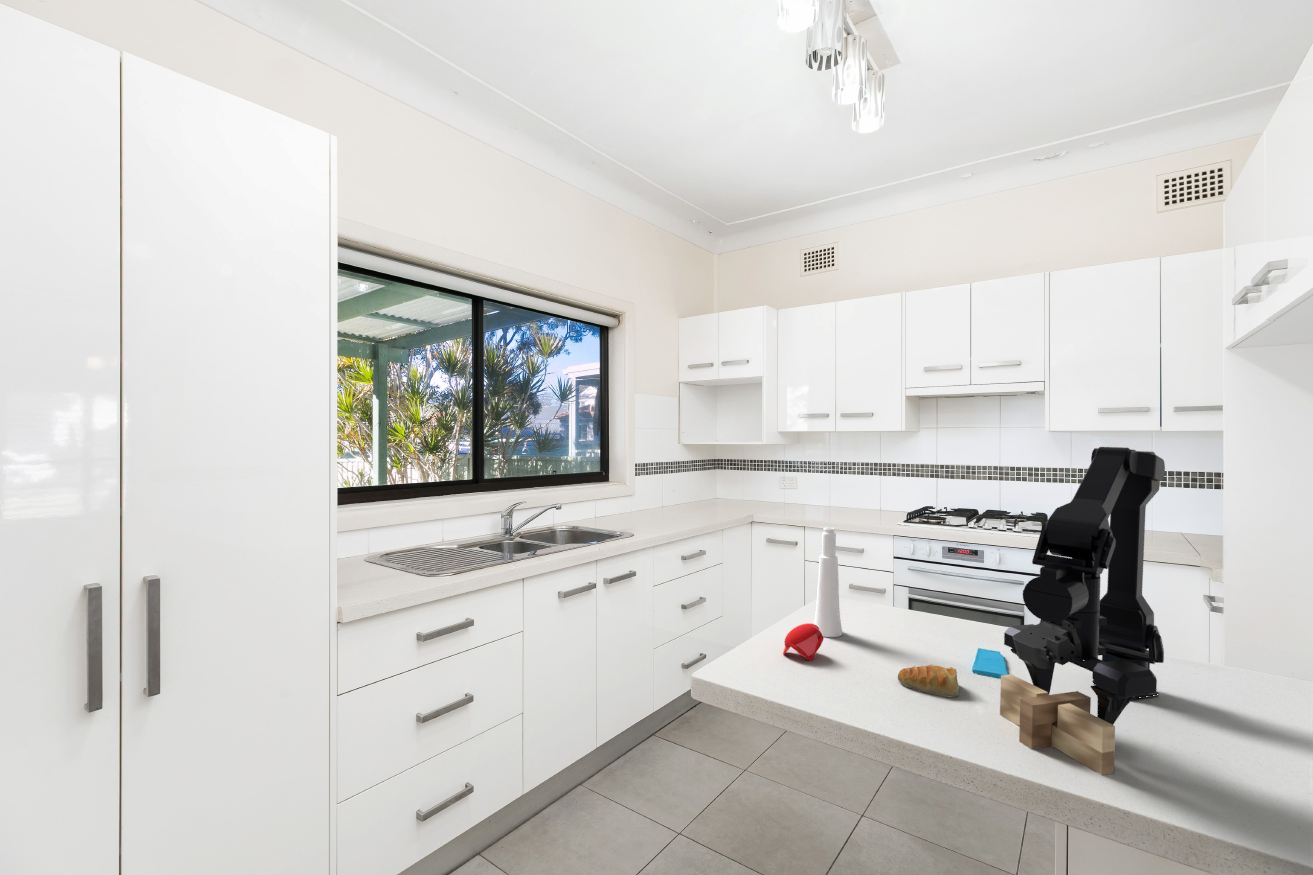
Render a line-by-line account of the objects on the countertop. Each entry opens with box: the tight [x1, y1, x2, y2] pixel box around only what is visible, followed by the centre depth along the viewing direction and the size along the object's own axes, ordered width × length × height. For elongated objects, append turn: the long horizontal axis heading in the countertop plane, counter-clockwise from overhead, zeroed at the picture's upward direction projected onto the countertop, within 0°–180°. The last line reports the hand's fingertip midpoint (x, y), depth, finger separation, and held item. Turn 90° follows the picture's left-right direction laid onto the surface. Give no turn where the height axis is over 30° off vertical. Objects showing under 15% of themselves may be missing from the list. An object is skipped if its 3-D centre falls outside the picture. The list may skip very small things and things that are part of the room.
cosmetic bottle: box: [813, 526, 843, 638], centre depth 127 cm, size 6×6×22 cm
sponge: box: [971, 647, 1009, 679], centre depth 111 cm, size 2×12×6 cm
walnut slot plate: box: [1018, 690, 1092, 750], centre depth 84 cm, size 10×2×6 cm, turn 104°
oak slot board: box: [999, 674, 1116, 776], centre depth 84 cm, size 16×2×6 cm, turn 14°
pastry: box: [897, 664, 960, 698], centre depth 102 cm, size 9×7×4 cm
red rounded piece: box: [782, 622, 825, 661], centre depth 114 cm, size 8×6×6 cm
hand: (1071, 716), depth 85 cm, fingers open, 9 cm apart
